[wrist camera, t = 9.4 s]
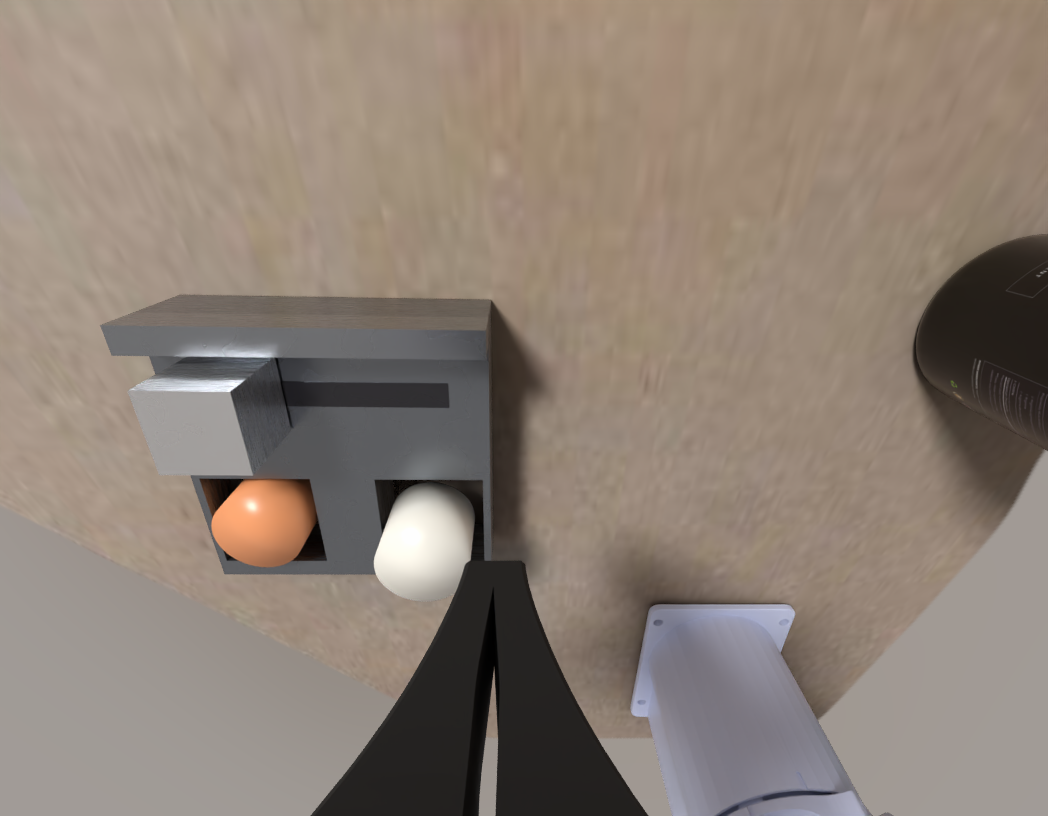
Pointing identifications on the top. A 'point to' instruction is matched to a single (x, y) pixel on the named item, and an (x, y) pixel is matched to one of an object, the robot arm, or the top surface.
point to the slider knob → (212, 415)
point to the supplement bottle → (994, 337)
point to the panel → (344, 404)
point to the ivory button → (426, 542)
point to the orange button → (266, 521)
